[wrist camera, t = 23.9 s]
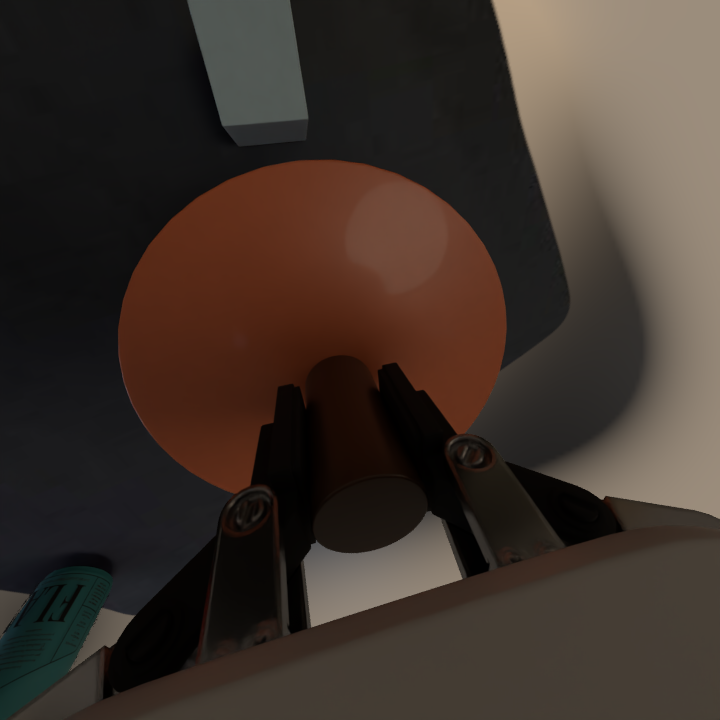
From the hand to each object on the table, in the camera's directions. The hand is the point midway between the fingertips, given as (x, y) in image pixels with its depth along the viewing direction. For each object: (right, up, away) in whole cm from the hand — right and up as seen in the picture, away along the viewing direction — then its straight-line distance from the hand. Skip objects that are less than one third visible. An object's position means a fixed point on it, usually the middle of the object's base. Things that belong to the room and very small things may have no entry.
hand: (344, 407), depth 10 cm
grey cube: (-5, +17, +5) cm, 19 cm away
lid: (0, +1, +2) cm, 2 cm away
